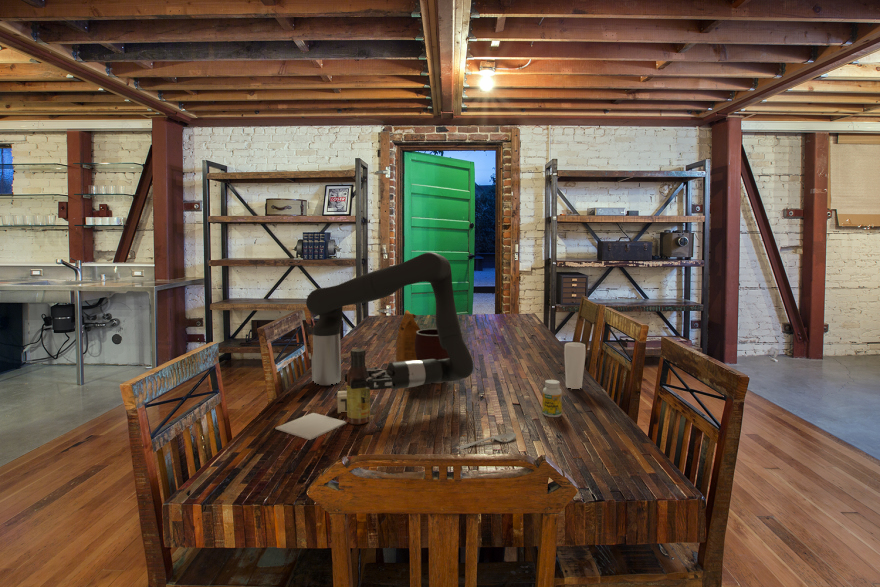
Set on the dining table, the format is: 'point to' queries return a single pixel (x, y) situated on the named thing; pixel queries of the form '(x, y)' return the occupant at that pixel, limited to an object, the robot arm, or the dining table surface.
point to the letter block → (342, 401)
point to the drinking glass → (574, 364)
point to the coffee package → (406, 338)
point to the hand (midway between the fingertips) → (347, 381)
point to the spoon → (508, 436)
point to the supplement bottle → (552, 399)
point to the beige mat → (311, 426)
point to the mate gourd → (429, 346)
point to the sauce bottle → (358, 390)
